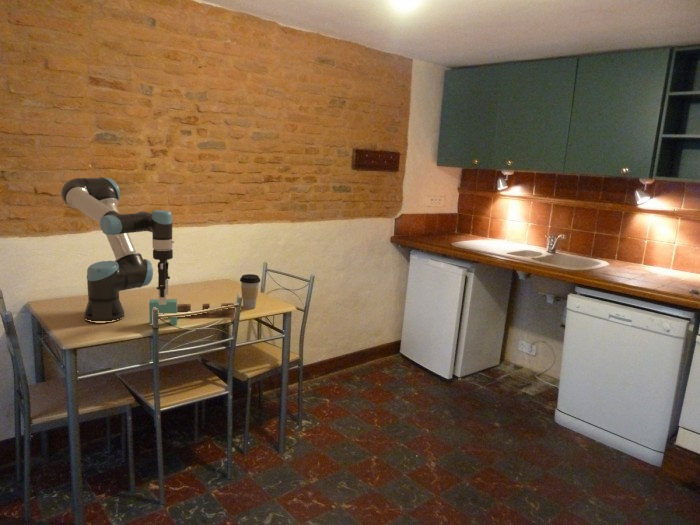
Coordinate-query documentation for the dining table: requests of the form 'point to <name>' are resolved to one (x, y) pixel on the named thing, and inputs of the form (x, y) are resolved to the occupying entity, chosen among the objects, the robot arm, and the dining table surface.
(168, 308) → the clip
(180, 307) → the rail
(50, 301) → the dining table surface
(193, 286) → the dining table surface
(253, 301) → the coffee cup
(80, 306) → the dining table surface
